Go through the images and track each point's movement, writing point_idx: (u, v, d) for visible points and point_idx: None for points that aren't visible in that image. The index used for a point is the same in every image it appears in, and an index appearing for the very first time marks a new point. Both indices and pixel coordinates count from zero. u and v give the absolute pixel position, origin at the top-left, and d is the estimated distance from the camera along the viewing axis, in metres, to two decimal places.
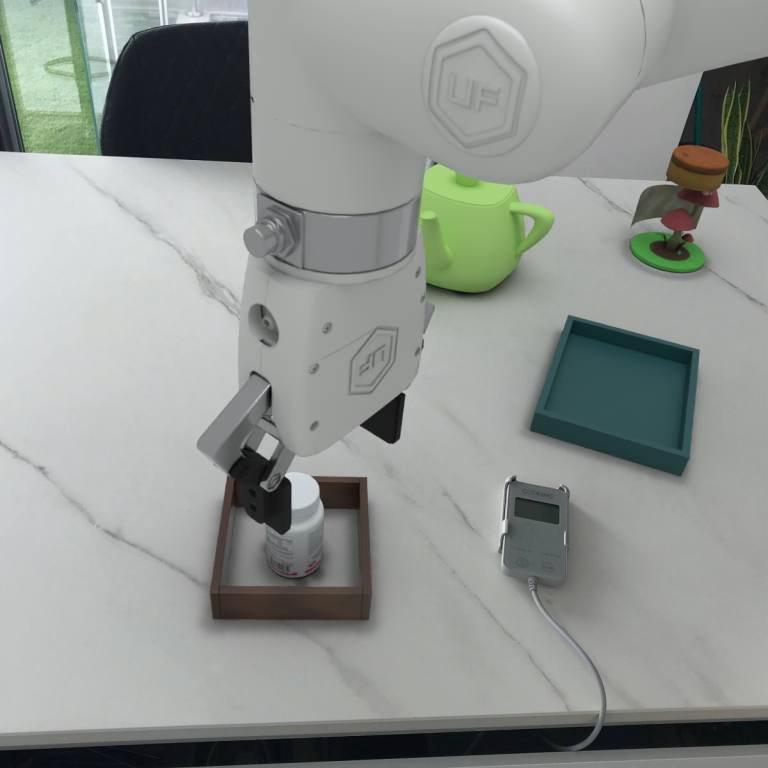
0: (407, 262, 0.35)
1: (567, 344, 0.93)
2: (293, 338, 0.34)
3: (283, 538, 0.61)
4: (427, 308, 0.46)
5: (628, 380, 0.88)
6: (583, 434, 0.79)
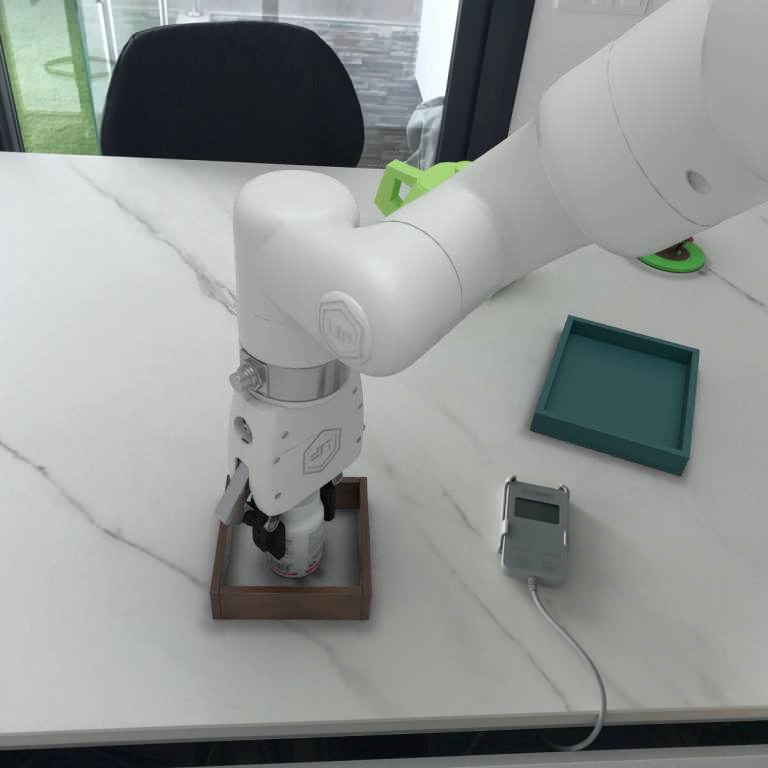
0: (341, 391, 0.52)
1: (567, 344, 0.93)
2: (261, 441, 0.51)
3: None
4: None
5: (628, 380, 0.88)
6: (583, 434, 0.79)
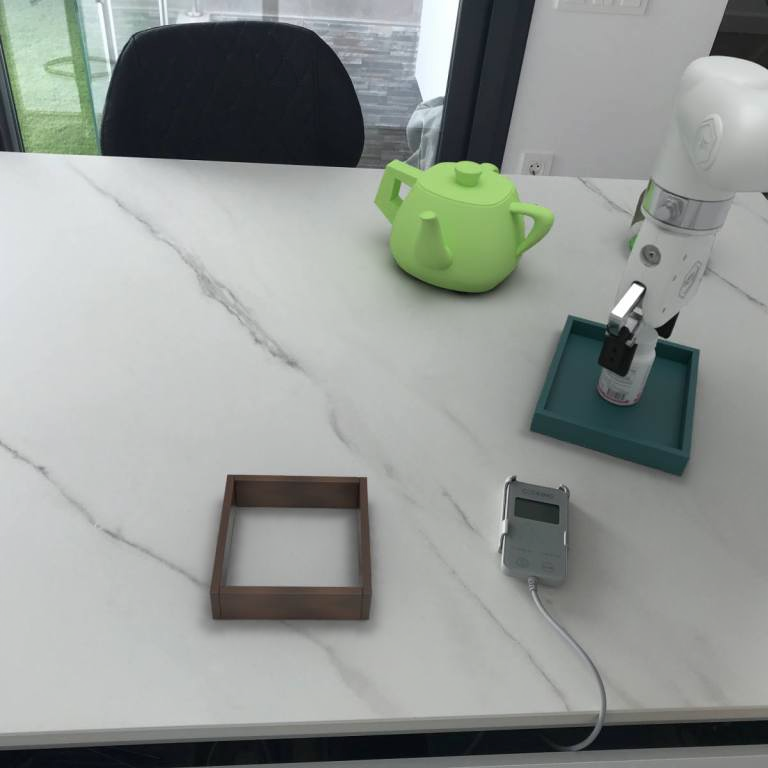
0: (722, 226, 0.71)
1: (567, 344, 0.93)
2: (668, 261, 0.70)
3: (629, 369, 0.81)
4: None
5: None
6: (583, 434, 0.79)
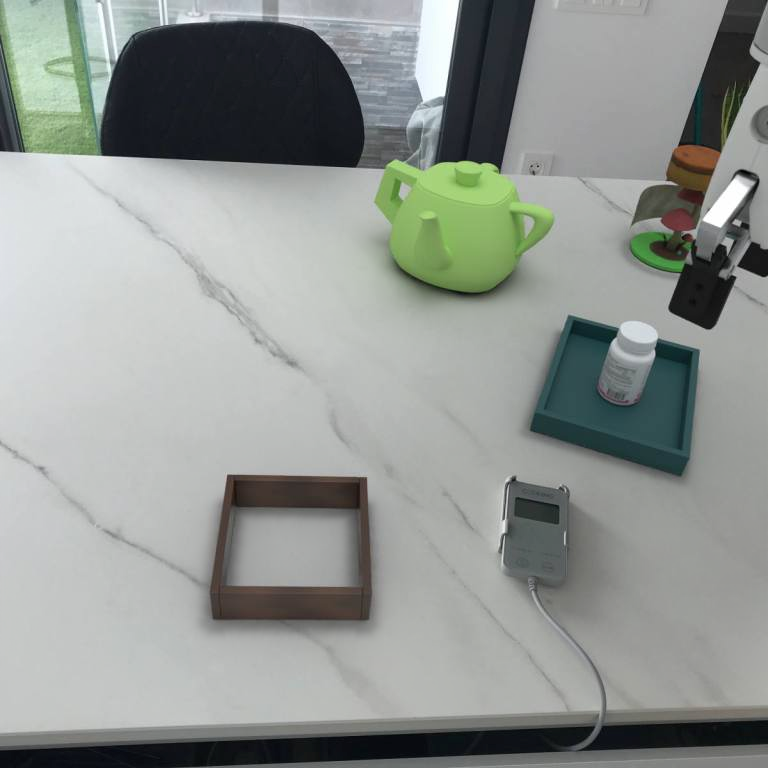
0: None
1: (567, 344, 0.93)
2: None
3: (629, 369, 0.81)
4: None
5: None
6: (583, 434, 0.79)
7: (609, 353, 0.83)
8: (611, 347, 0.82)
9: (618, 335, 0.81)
